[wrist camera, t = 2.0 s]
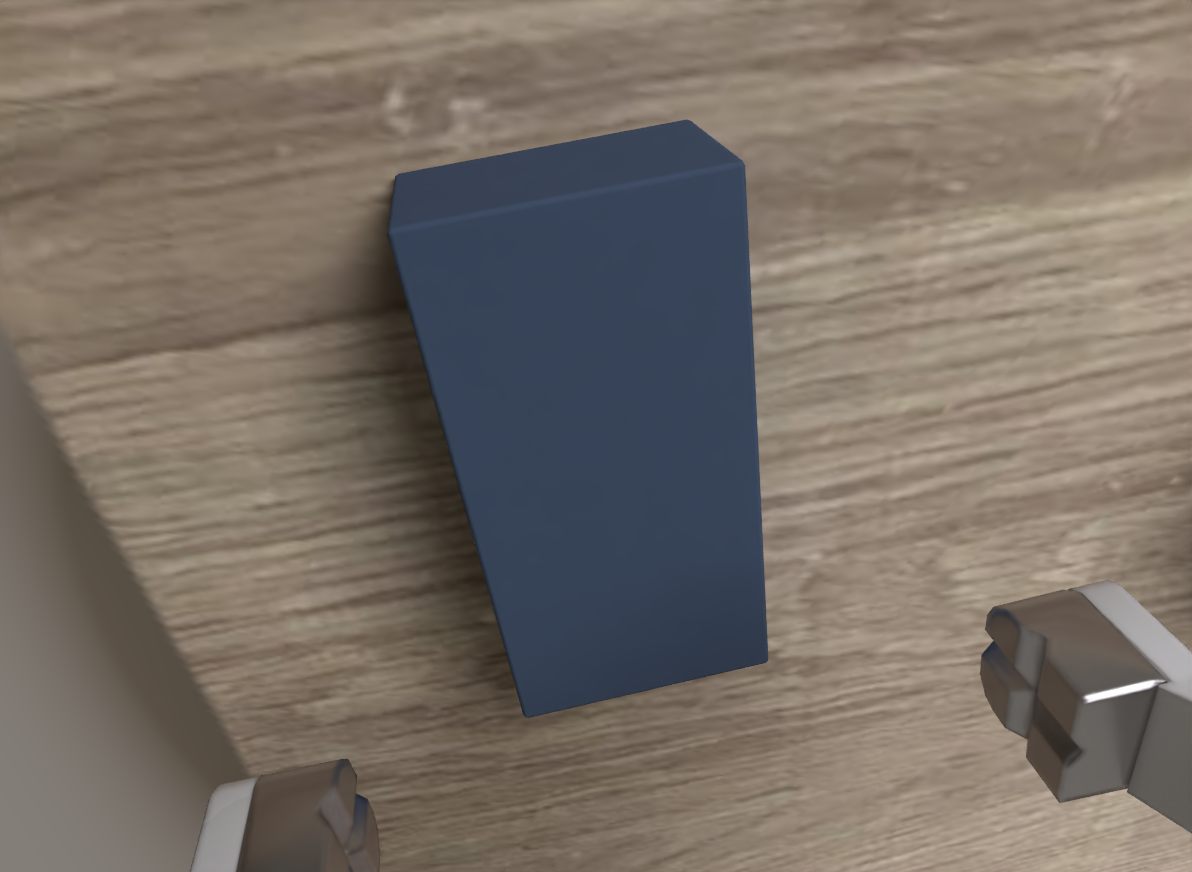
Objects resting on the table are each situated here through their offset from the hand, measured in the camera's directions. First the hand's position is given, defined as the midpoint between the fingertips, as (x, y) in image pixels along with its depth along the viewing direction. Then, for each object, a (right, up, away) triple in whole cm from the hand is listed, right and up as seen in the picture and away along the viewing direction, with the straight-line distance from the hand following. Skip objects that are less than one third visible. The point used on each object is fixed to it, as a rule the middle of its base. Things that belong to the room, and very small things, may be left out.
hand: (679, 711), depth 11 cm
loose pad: (-1, +4, +6) cm, 7 cm away
